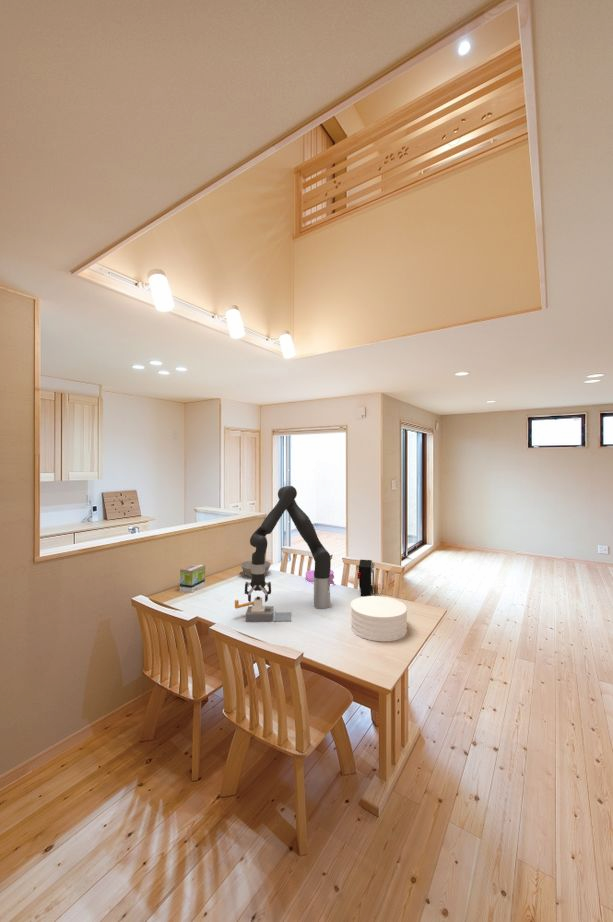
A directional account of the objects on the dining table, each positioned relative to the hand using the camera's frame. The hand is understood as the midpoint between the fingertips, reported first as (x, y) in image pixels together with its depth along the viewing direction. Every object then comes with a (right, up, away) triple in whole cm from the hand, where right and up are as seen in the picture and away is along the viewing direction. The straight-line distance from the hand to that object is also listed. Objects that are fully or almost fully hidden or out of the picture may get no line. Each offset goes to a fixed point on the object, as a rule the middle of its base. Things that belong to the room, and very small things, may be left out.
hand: (257, 601), depth 200 cm
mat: (+14, -9, 0) cm, 16 cm away
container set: (+36, -10, +56) cm, 68 cm away
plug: (0, -9, 0) cm, 9 cm away
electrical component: (+65, -9, +35) cm, 74 cm away
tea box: (-49, -9, +46) cm, 68 cm away
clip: (-7, -4, +2) cm, 9 cm away
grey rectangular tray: (+1, -9, 0) cm, 9 cm away
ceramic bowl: (-11, -10, +71) cm, 72 cm away
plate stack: (+63, -9, -13) cm, 65 cm away
